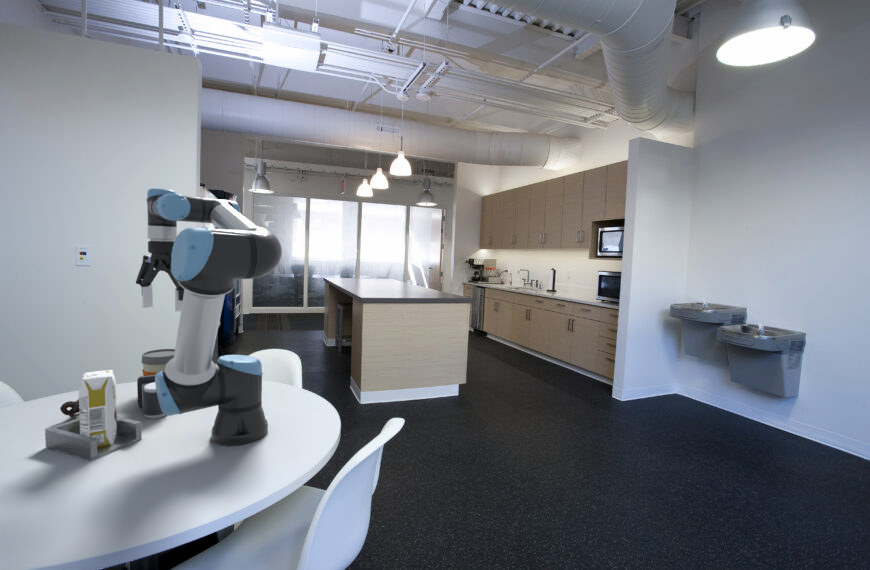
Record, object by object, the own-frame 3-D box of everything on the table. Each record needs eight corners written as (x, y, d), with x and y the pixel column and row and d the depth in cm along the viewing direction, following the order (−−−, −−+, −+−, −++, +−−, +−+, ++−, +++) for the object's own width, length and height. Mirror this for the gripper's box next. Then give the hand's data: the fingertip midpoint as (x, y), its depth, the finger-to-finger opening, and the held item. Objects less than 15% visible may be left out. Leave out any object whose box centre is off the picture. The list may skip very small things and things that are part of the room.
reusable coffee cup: (179, 385, 162) (179, 347, 161) (185, 394, 152) (185, 354, 151) (140, 390, 154) (139, 351, 153) (143, 401, 144) (143, 359, 143)
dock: (141, 439, 117) (141, 422, 117) (90, 460, 105) (90, 441, 105) (98, 428, 123) (98, 411, 122) (45, 447, 111) (45, 429, 110)
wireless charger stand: (135, 423, 128) (134, 390, 127) (138, 406, 139) (137, 375, 138) (177, 417, 134) (176, 385, 133) (176, 401, 145) (176, 371, 144)
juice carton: (79, 452, 108) (77, 380, 106) (82, 439, 115) (80, 372, 113) (116, 445, 112) (114, 376, 110) (117, 433, 119) (115, 368, 117)
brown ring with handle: (96, 409, 138) (108, 389, 137) (105, 428, 133) (118, 408, 132) (51, 411, 127) (63, 389, 127) (59, 432, 123) (72, 410, 122)
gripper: (204, 242, 127) (204, 310, 129) (145, 239, 135) (146, 304, 137) (182, 241, 120) (183, 314, 122) (121, 238, 128) (122, 307, 130)
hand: (163, 309), depth 130 cm, fingers open, 13 cm apart
